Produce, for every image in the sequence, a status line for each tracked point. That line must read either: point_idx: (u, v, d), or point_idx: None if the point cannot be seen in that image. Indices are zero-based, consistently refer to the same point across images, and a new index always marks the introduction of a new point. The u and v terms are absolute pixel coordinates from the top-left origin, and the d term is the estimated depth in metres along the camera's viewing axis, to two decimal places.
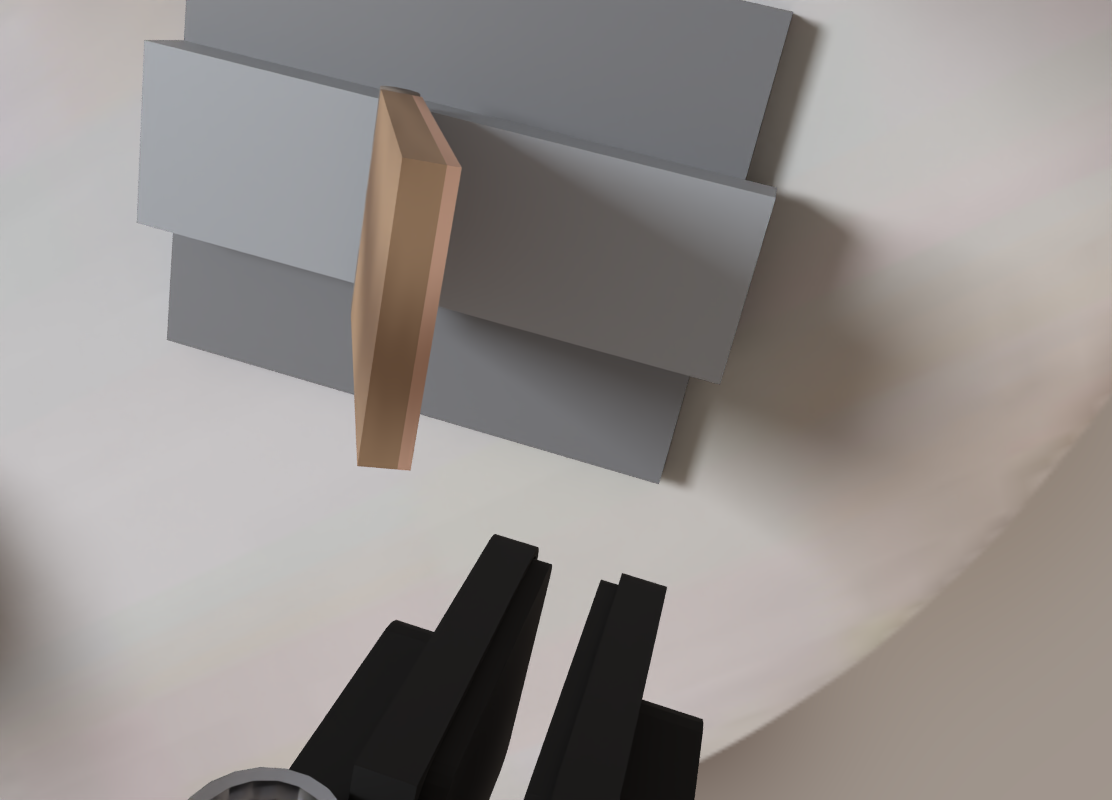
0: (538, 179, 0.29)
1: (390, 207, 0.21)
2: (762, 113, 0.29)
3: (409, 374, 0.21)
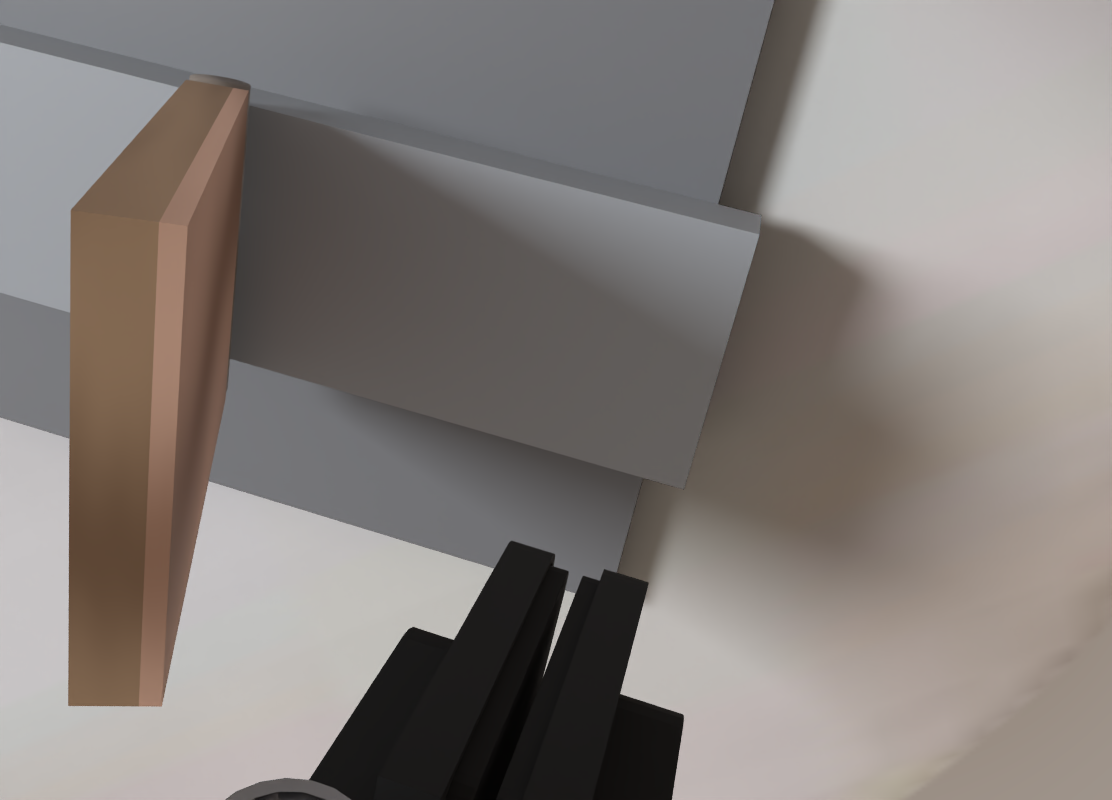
0: (425, 206, 0.21)
1: None
2: (741, 111, 0.21)
3: (138, 565, 0.13)
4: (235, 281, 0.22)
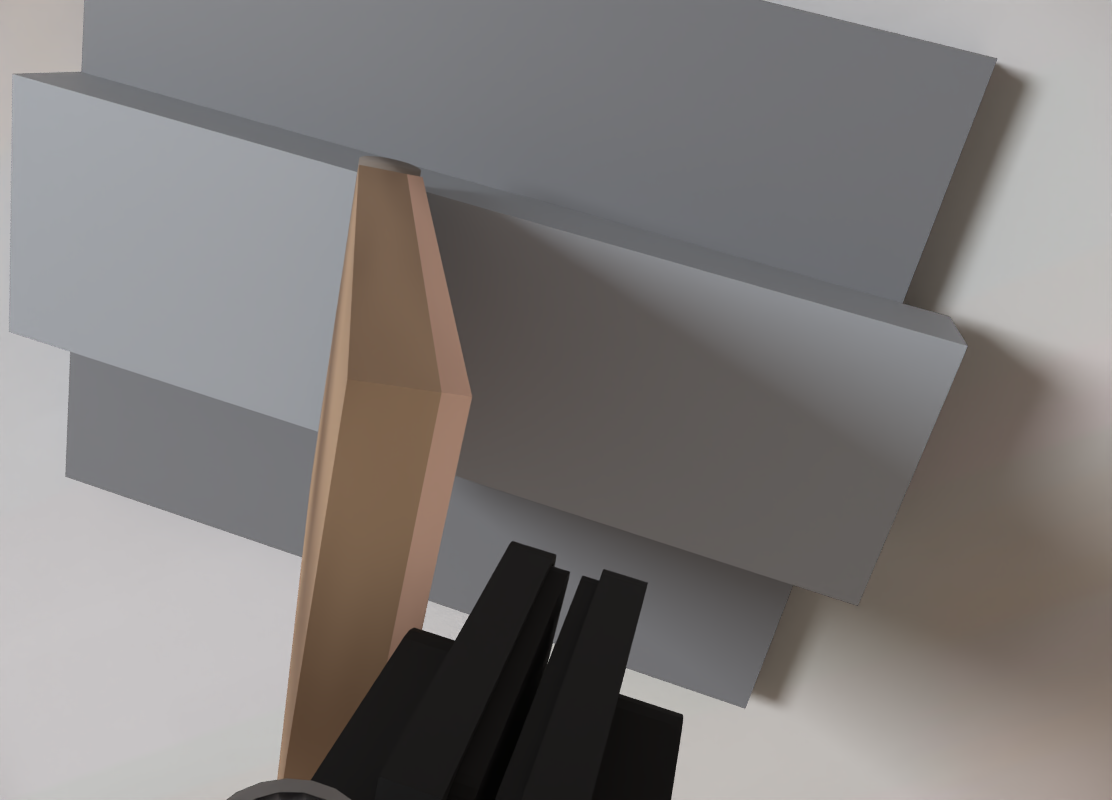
0: (598, 301, 0.20)
1: (332, 446, 0.11)
2: (936, 208, 0.20)
3: None
4: None
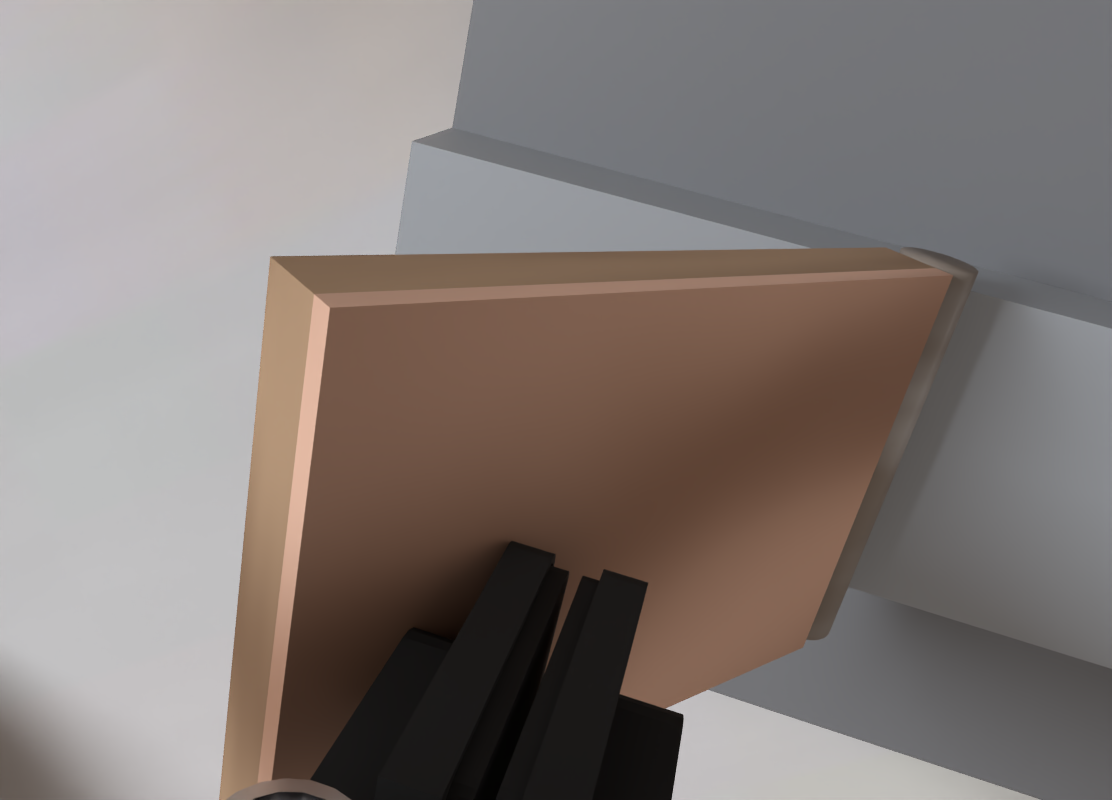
0: None
1: None
2: None
3: (262, 705, 0.10)
4: (873, 513, 0.16)
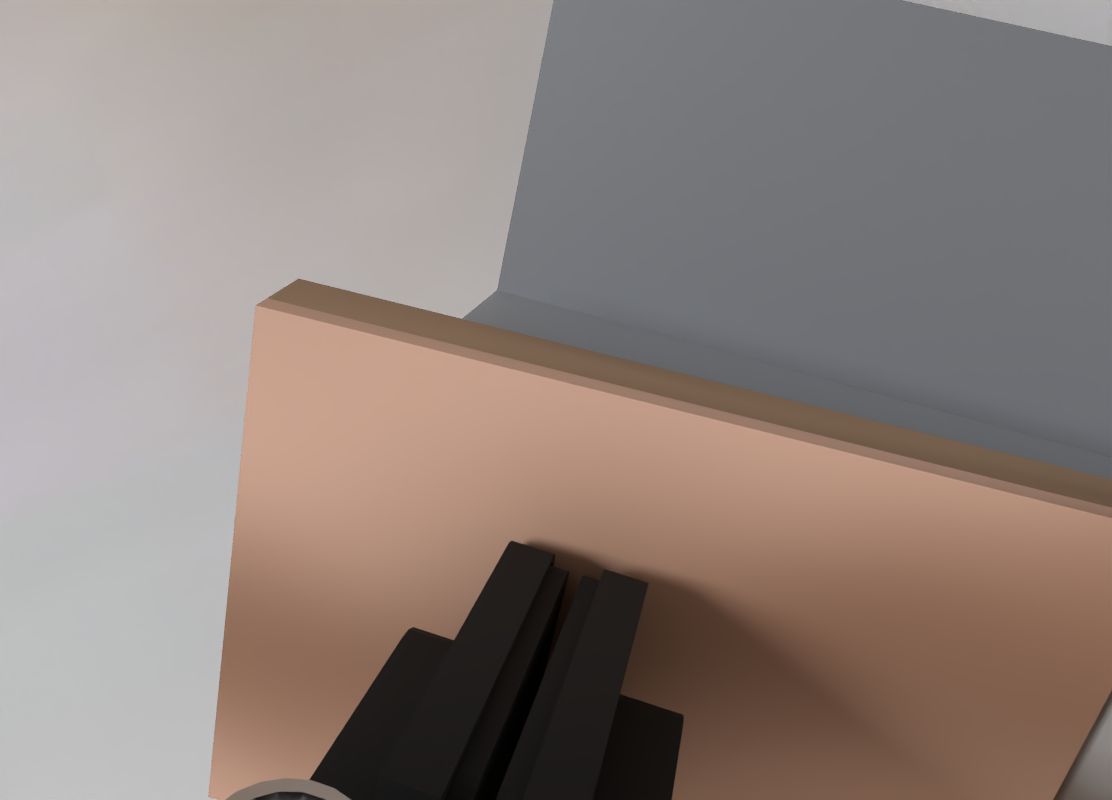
0: None
1: None
2: None
3: None
4: None
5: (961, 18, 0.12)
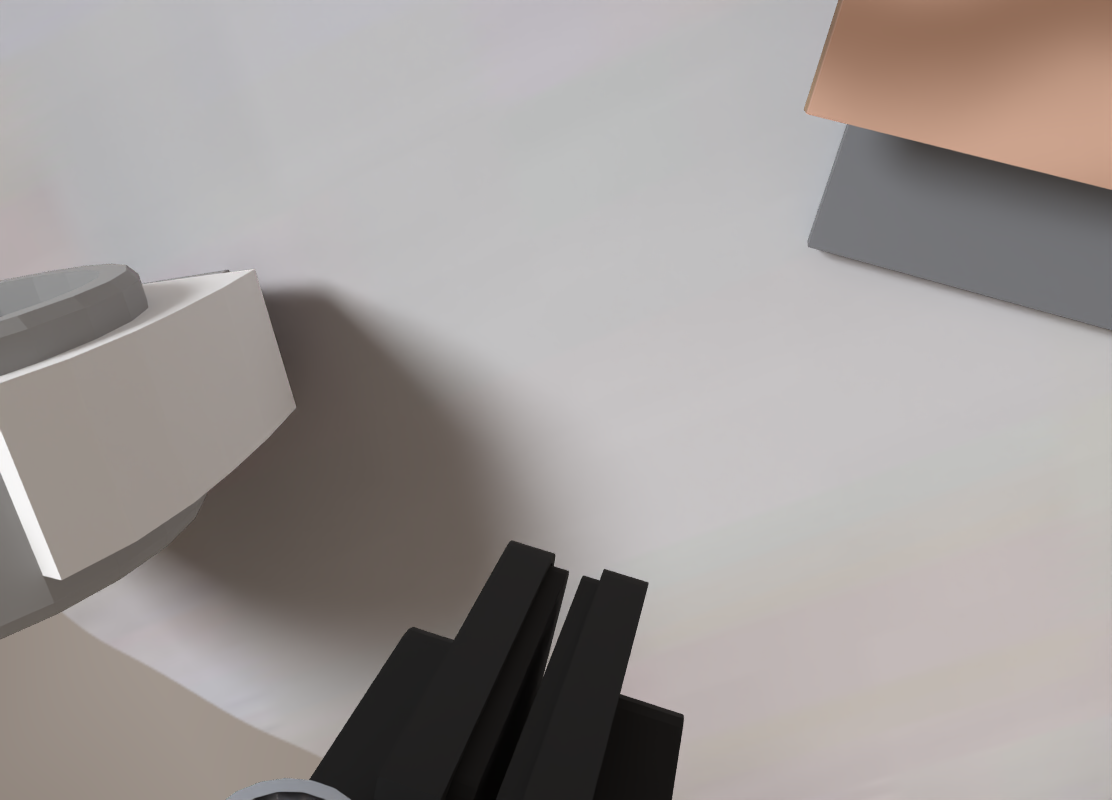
0: None
1: None
2: None
3: (833, 25, 0.27)
4: None
5: None
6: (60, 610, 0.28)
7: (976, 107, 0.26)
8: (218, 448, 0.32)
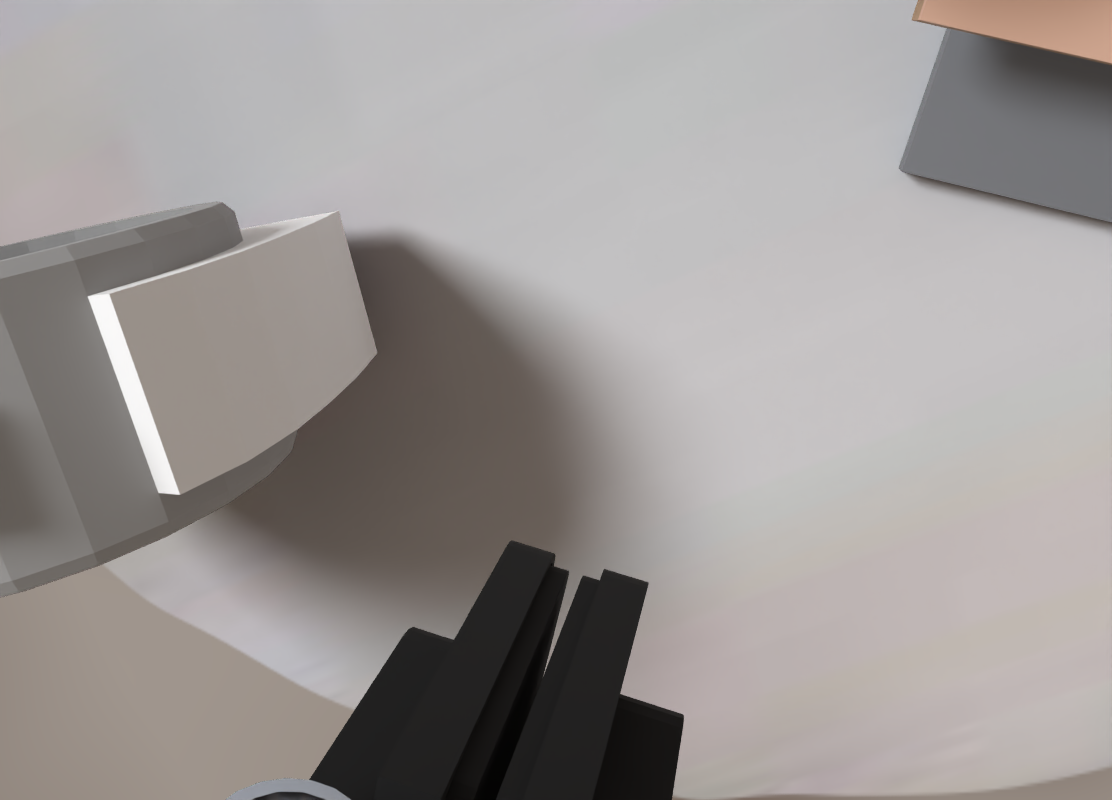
0: None
1: None
2: None
3: None
4: None
5: None
6: (173, 530, 0.27)
7: (1091, 8, 0.27)
8: (316, 379, 0.32)
